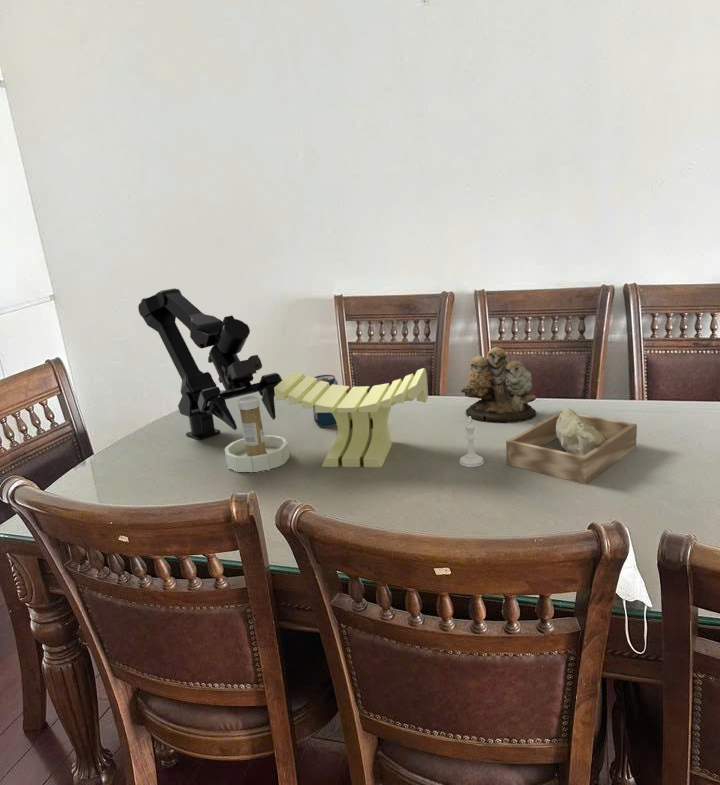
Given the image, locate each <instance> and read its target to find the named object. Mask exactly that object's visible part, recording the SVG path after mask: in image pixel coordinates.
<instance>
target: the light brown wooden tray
mask: <svg viewBox="0 0 720 785" xmlns="http://www.w3.org/2000/svg"><path fill="white" fill-rule="evenodd" d="M563 411H564V410H563ZM563 411H562V410H560V411H558V412H557V413H555V414H553V415H551V416H550V417H547V418H545V419H544V420H542V421H541V422H539V423H537V424H535V425H532V426H530V427H529V428H528V429H526V430H524V431H522V432H521V433H518V434H517V435H515V436H513V437H511V438H510V439H509V438H508V440H506V441H505V446H506V449H505V450H506V451H505V452H506V456H505V457H506V465H509V466H512V467H517V468H520V469H525V470H529V471H533V472H537V473H541V474H544V475H547V476H552V477H555V478H558V479H559V478H560V479H564V480H568V481H572V482H577V483H580V484H583V485H586V484H588V483H589V482H590V481H592V480H594V479H595V478H596V477H597V476H599V475H600V474H601V473H603V472H604V471H606V470H607V469H608V468H610V467H611V466H612V465H614V464H615V463H617V462H618V461H619V460H620V459H622V458H624V456H626V455H627V454H629V453H630V452H631V451H633V450H634V449H636V448H637V435H638V434H637V430H638V429H637V428H638V424H637V423H631V422H626V421H621V420H614V419H610V418H609V419H608V418H604V417H599V416H592V415H586V414H585V415H584V414H581V413H576V414H577V415H579V416H580V417H581V418H582V419H583V420H584V421H585V422H587V423H588V424H589V425H590V426H591V427H594V428H595V429H596V430H598V431H599V432H600V433H601V434H602V435H603V436H604V438H605V440H606V441H605V442H604V443H602V444H601V445H599V446H598V447H596V448H595V449H593V450H592V451H590V452H589V453H587V454H586V455H584V456H580V455H576V454H573V453H567V451H562V450H557V449H552V448H548V447H544V446H546V445H548V444H549V443H551V442H552V441H553V440H556V439H558V438H557V434H556V423H557V420H558V418H559V416H560V414H561V413H562V412H563Z"/></svg>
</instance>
